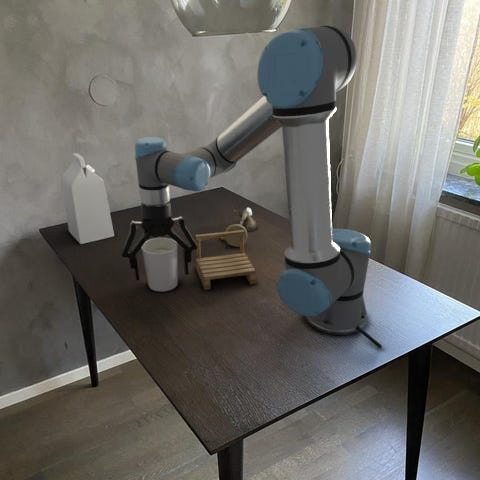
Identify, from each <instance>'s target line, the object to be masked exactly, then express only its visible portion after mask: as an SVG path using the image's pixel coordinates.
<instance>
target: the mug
mask: <svg viewBox="0 0 480 480" xmlns="http://www.w3.org/2000/svg"><path fill="white" fill-rule="evenodd" d="M239 230H244V232H245V235H244V244H245V243H246V241H247V239H248V230H246V227H244V226H243V224H242V225H240V223H239V224H238V223H234V224H231V225H229V226H227V228H226V230H225V232H229V231H239ZM220 240H221V241H226V243H227V244H228V245H229V246H231V247H235V248H238V247H240V236H234V237H224V238H220Z"/></svg>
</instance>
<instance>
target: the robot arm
mask: <svg viewBox="0 0 480 480" xmlns="http://www.w3.org/2000/svg"><path fill="white" fill-rule="evenodd" d="M357 55H358V54H357V48H356V45H355V42H354V41H353V39H352V37H351V36H350V35H349V33H348V32H346V31H344V30H343V29H342V28H340V27H337V26H334V25H320V26H314V27H303V28H297V27H296V28H294V29H291V30H287V31H284V32H281V33H279V34H277V35H275V36H273V38H272V39H270V40H269V41H268V42H267V44H266V45H265V47H264V49H263V50H262V52H261V53H260V55H259V59H258V63H257V71H256V72H257V73H256V77H257V84H258V88H259V90H260V93H261V95H262V97H261V98H260V99H259V100H257V101H256V102H255V103H254V104H253V105H252V106H251V107H249V108H248V109H247V110H246V111H245V112H243V114H242V115H240V116H239V117H238V118H237V119H236V120H235V121H233V123H231V124H230V125H229V126H228V127H227V128H226V129H225V130H224V131H222V132H221V133H220V134H219V135H218V136H217V137H216V138H215V139H214V140H212V141H211V142H210V143H208V144H206V145H204V146H201V147H198V148H195V149H192V150H190V151H186V152H184V153H179V152H174V151H170V150H168V147H167V142H166V140H165V139H163V138H162V137H159V136H146V137H142V138H139V139H137V140H136V141H135V143H134V153H135V154H134V155H135V156H134V160H135V165H136V173H137V183H138V192H139V200H140V202H141V203H140V209H141V210H140V211H141V221H136V220H134V219H131V220H130V221H129V222H130V225H129V231H128V233H127V235H126V239H125V241H124V243H123V246H122V248H121V256H122V258H128V259H129V267H130V269H132V270H134V275H135V279H136V281H140V273H139V266H138V258H137V255H138V253H139V251H140V250H141V247H142V246H143V244H144V243H145V242H146V241H147V240H150V239H151V237H152V238H159V237H160V238H164V237H166V236H167V235H168V236H169V238H170V239H172V240H175V241H176V242H177V243H178V246H180V247H181V248H182V255H183V256H182V257H183V270H184V274H185V276H186V275H189V263H192V253H193V251H194V250H195V251H196V249H197V248H198V247H197V245H196V240H195V239H194V238H193V236H192V234H191V232H190V231H189V229H188V228H187V226H186V225H185V219H184V217H183V216H182V215H178V217H174V218H173V216H172V205H171V202H170V200H171V193H170V192H171V191H170V190H171V189H170V186H172V187H176V188H179V189H182V190H184V191H185V190H186V191H192V192H200V191H203V189H204V188H205V186H207V185H208V184H209V181H210V179H211V178H214V177H216V176H219V175H221V174H224V173H228V172H230V171H231V170H233V169H235V168H236V167H237V166H238V165H239V163H240V160H241V159H242V158H244V157H245V156H247V155H248V154H250V152H251V151H253V150H254V149H256V148H257V147H258V146H259V145H260V144H262V143H263V142H264V141H266V140H267V139H269V138H270V137H271V136H272V135H274V133H276V132H277V131H278V130H280V129H281V131H282V144H283V157H284V158H283V159H284V170H285V183H286V184H285V185H286V197H287V209H288V223H289V236H290V244H289V246H287V248H286V249H285V250H284V265H285V266H284V267H285V270H282V272H281V273H280V274H279V277H278V279H277V282H276V289H277V294H278V297H279V298H280V300H281V301H282V304H284V305H285V306H286V307H288V309H289V310H290V311H292V312H293V313H294V314H296V315H300V316H302V317H305V321H306V322H307V324H308V325H309V326H310V327H311V328H313V329H315V330H316V331H319V332H321V333H324V334H327V335H333V336H348V335H352V334H356V333H360V334H361V335H362V336H364V337H365V338H366V339H368V340H369V341H370V342H371V343H372V344H374V345H375V346H376V347H377V348H378V349H381V348H382V347H383V345H382V344H381V343H380V342H379V341H377V340H376V339H375V338H374V337H373V336H372V335H370V334H369V333H368V332H366V331H365V330H364V328H365V326H366V325H367V320H368V313H367V307H366V301H365V296H364V290H365V284H366V279H367V273H368V268H369V267H368V266H369V262H370V261H369V260H370V256H371V253H372V252H371V246H372V245H371V240H370V238H369V237H368V236H366V235H365V234H363V233H361V232H359V231H355V230H351V229H347V228H333V221H332V220H333V219H332V191H331V164H330V162H331V161H330V160H331V159H330V133H329V131H330V130H329V129H330V128H329V119H330V118H331V117H332V116H333V114H334V113H335V112H336V111H337V92H339V91H340V90H342V89H343V88H344V87H345V86H347V85H348V83H349V82H350V81H351V79H352V77H353V76H354V73H355V71H356V68H357V61H358V56H357ZM174 224H175V225H176V226H177V227H180V230H181V231H182V233H183V235H184V236H185V237H186V240H187V241H188V242H187V241H185V240H184V239H183V238H182V237H181V236H180V235H179V234H177V233H176V232H175V230H173V226H174ZM140 228H142V229H143V231H142V233H141V235H140V236H139V237H138V239H137V240H136V241H135V243H134V244H133V245H132V243H133V241H134V238H135V236H136V233H137V231H139V229H140ZM188 243H189V244H188ZM131 246H132V247H131Z"/></svg>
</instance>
